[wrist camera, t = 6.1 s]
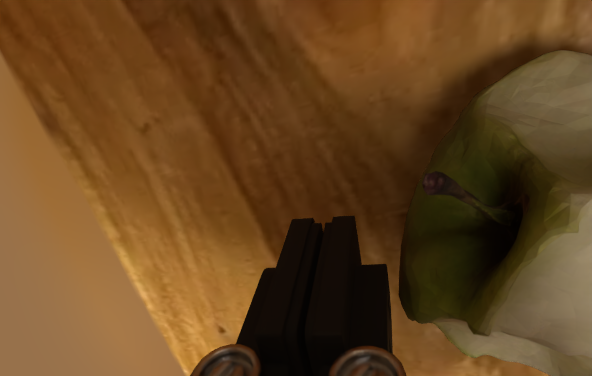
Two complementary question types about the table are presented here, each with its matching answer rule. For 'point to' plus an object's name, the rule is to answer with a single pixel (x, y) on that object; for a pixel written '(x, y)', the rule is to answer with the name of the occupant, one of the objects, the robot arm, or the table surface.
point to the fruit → (510, 222)
